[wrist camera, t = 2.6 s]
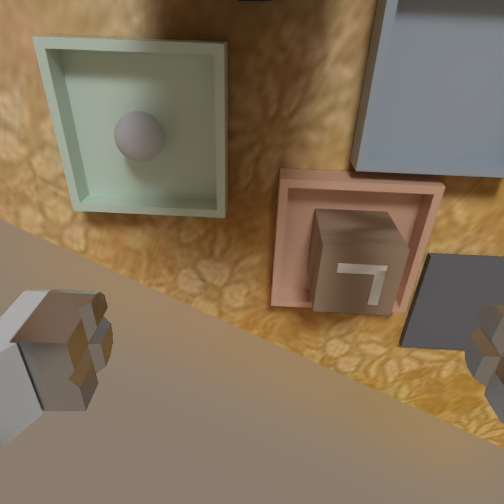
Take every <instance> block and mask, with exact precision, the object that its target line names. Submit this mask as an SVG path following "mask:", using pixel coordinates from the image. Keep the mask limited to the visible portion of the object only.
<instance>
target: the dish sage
mask: <svg viewBox="0 0 504 504" xmlns="http://www.w3.org/2000/svg"><path fill="white" fill-rule="evenodd" d="M32 38H33V42H34V47H35V51H36V55H37V59H38V63H39V68H40V72H41V76H42V80H43V84H44V89H45V93H46V97H47V101H48V105H49V110H50V114H51V118H52V122H53V126H54V131H55V135H56V139H57V143H58V147H59V152H60V156H61V160H62V164H63V168H64V173H65V177H66V181H67V185H68V189H69V194H70V198H71V202H72V206H73V210H74V211H89V212H110V213H130V214H151V215H171V216H192V217H212V218H225V217H226V212H227V208H228V42H227V41H201V40H175V39H150V38H124V37H98V36H72V35H41V36H32ZM134 111H141V112H146V113H148V114H150V115H152V116H153V117H155V118H156V119H157V120H158V121H159V123H160V124H161V126H162V128H163V130H164V134H165V143H164V147H163V149H162V151H161V153H160V154H159V155H158V156H157V157H156V158H154V159H152V160H150V161H147V162H136V161H133V160H130V159H128V158H127V157H125V156H124V155H123V154H122V153H121V152H120V150H119V149H118V147H117V145H116V143H115V139H114V131H115V127H116V124H117V122H118V121H119V119H120V118H121V117H122V116H124V115H125V114H127V113H130V112H134Z"/></svg>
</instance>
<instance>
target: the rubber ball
mask: <svg viewBox="0 0 504 504" xmlns="http://www.w3.org/2000/svg"><path fill="white" fill-rule="evenodd" d="M114 139H115V143H116V145H117V147H118V149H119V150H120V152H121V153H122V154H123V155H124V156H125V157H127V158H128V159H130V160H133V161H136V162H147V161H150V160H152V159H154V158H156V157H157V156H158V155H159V154H160V153H161V151H162V149H163V147H164V143H165V134H164V130H163V128H162V126H161V124H160V123H159V121H158V120H157V119H156V118H155V117H153V116H152V115H150V114H148V113H146V112H141V111H134V112H130V113H127V114H125V115H124V116H122V117H121V118H120V119H119V121H118V122H117V124H116V127H115V131H114Z"/></svg>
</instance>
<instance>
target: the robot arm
mask: <svg viewBox="0 0 504 504" xmlns="http://www.w3.org/2000/svg"><path fill="white" fill-rule="evenodd" d="M107 308H108V307H107V303H106V299H105V295H104V294H102V293H101V292H94V291H75V290H56V289H55V290H51V289H28V290H26V291H24V292H23V293H22V294H21V295H20V296H19V297H18V299H17V300H16V301H15V302H14V303H13V304H12V305H11V306H10V308H9V309H8V310H7V311H6V312H5V313H4V314H3V316H2V317H1V318H0V450H1V449H2V448H3V447H4V446H6V445H7V444H8V443H9V442H10V441H11V440H12V439H14V438H15V437H16V436H17V435H18V434H19V433H21V432H22V431H23V430H24V429H25V428H26V427H27V426H28V425H30V424H31V423H32V422H33V421H34V420H36V418H38V417H39V416H40V415H41V414H42V413H43V411H86V410H87V408H88V405H89V403H90V401H91V399H92V396H93V394H94V392H95V390H96V388H97V385H98V380H97V376H96V373H98V372H99V371H100V370H102V369H103V368H104V367H106V365H107V362H108V360H109V358H110V354H111V349H112V344H113V333H112V326H111V323H110V322H109V321H108V320H107V319H106V318H105V317H104V316H103V315H104V314H105V312H106V310H107ZM476 321H477V323H478V325H479V328H478V329H476V330H475V331H473V332H472V333H471V334H469V336H468V339H467V342H466V344H465V360H466V363H467V366H468V369H469V371H470V372H471V374H472V376H473V377H474V378H475V379H476V380H478V381H479V382H480V383H482V384H483V385H485V386H486V390H485V397H486V399H487V400H488V402H489V403H490V405H491V407H492V408H493V410H494V411H495V413H496V415H497V416H498V418H499V419H500V421H501V423H504V305H485V306H484V307H483V308H482V309H481V310H480V311H479V313H478V315H477V318H476Z"/></svg>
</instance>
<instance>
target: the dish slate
mask: <svg viewBox="0 0 504 504" xmlns="http://www.w3.org/2000/svg"><path fill="white" fill-rule="evenodd" d="M350 161H351V163H352V165H353V167H354V169H355V170H356V171H366V172H388V173H409V174H431V175H453V176H475V177H497V178H504V0H378V1H377V7H376V13H375V18H374V24H373V30H372V36H371V42H370V48H369V53H368V59H367V65H366V71H365V77H364V83H363V88H362V94H361V100H360V106H359V112H358V118H357V123H356V129H355V135H354V141H353V147H352V152H351V158H350Z"/></svg>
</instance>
